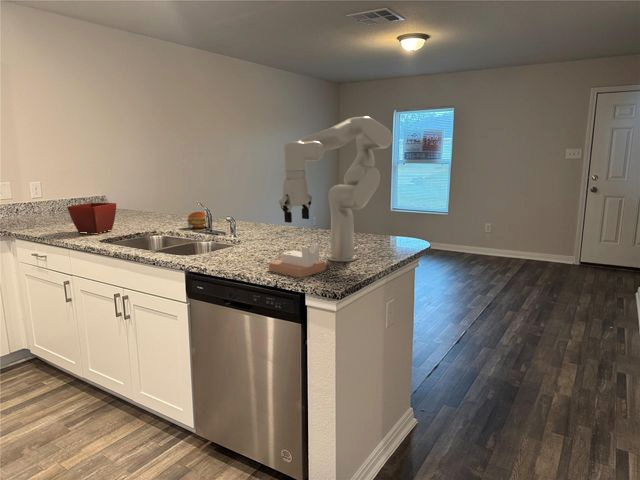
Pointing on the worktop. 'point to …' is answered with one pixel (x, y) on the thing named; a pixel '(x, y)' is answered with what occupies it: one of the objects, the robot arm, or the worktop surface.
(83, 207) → the plant pot
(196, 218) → the burger
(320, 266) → the riser block
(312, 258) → the bracket
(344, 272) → the worktop surface
